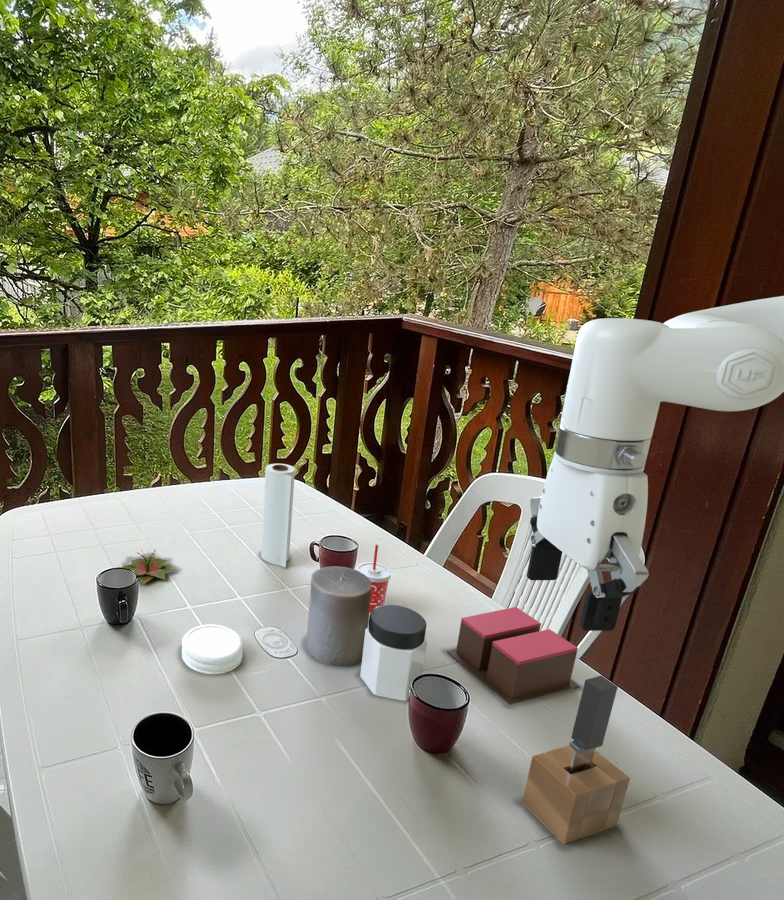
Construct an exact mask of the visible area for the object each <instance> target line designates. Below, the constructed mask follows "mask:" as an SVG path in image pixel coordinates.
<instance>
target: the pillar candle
mask: <svg viewBox="0 0 784 900" xmlns="http://www.w3.org/2000/svg"><path fill="white" fill-rule="evenodd" d="M371 589H372V585H371V581H370V579H369V578H368V577H367V576H366V575H364V574H363V573H361V572H359V571H357V569H354V568H350V567H347V566H338V565H337V566H336V565H334V566H333V565H332V566H325V567H321V568H318V569H316V570H314V571H313V572H312V573H311V578H310V592H309V606H308V618H307V629H306V631H307V633H306V650H307V651H308V653H309V654H310V655H311V656H312V658H314V659H316V661H319V662H321V663H323V664H327V665H330V666H335V667H352V666H355V665H357V664H360V662H362V655H363V646H364V637H365V629H366V628H368V627H369V617H370V616H369V609H370V600H371Z"/></svg>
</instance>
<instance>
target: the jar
mask: <svg viewBox="0 0 784 900" xmlns="http://www.w3.org/2000/svg"><path fill="white" fill-rule="evenodd" d="M426 632H427V621H426V619H425V618H424V617H423V616H422V615H421V614H420V613H419V612H417V611H415V610H414V609H412V608H408V607H406V606H402V605H398V604H397V605H396V604H384V605H383V606H379V607H376V608H374V609H373V610H372V611H371V613H370V616H369V618H368V627H367V628H366V629H365V637H364V646H363V655H362V660H361V664H360V665H361V666H360V674H359V677H360V678H361V679H362V681H363V682H364V684H365V685H366V686H367V687H368V689H369V690H370V691H371V693H372V694H373V695H374V696H378V697H382V698H388V699H392V700H398V701H403V702H406V701H408V700H409V699H410V698H409V690H410V685H411V683H412V681H413V680H414V679H415V678H416V677H418V676H420V675H422V676H423V673H424V667H425V661H426V660H425V659H426V653H427V645H428V638H426Z"/></svg>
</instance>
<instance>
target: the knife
mask: <svg viewBox="0 0 784 900" xmlns="http://www.w3.org/2000/svg"><path fill="white" fill-rule="evenodd" d="M617 691H618V685H617V684H615V683H613V682H611V680H609V679H607V678H606V677H605V676H603V675H598V676H593V677H590V678H586V679H584V683H583V687H582V692H581V696H580V701H579V704H578V709H577V713H576V717H575V721H574V725H573V729H572V732H571V737H570V738H571V741H569V746H570V747H571V748H573V749H574V752H573V756H572V760H571V764H570V768H569V773H570V774H575V773H578V772H581V771H584V770H587V769H590V767H591V763H592V759H593V755H594V752H595V750H596V748H599V747H602V746H603V744H604V740H605V737H606V734H607V733H606V732H607V728H608V727H609V721H610V718H611V714H612V710H613V706H614V702H615V699H616V695H617Z"/></svg>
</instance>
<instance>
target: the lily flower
mask: <svg viewBox="0 0 784 900" xmlns="http://www.w3.org/2000/svg"><path fill="white" fill-rule="evenodd" d="M149 549H150V548H148V549H147V550H148V551H149ZM140 551H141V552H142V553H144V551H143V549H140ZM148 551H147V552H148ZM156 551H157V549H154V550H153V552H152V553H151V555H149V554H147V555H145V554H141V553H139V552H138V551H137V552H136V554H138V555H139V556H141V557H142V558H141V557H138V558H134V559H130V563H129V564H125V565H123V566H121V567H120V568H127V569H131V570H133V571H134V572H135V573H136V574H137V575H136V577H137V576H138V578H137V579H138V580H139V581H140V583H142V585H145V584H146V583H148V582H150V581H151V580H152V579H154V578H158V579H162V580H164V581H166V573H171V572H174V571H177V569H176V568H174V567H172V566H171V565H166V563H168V562H169V560H167V559H162V558H158V557H157V558H156V556H155V554H156Z"/></svg>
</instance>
